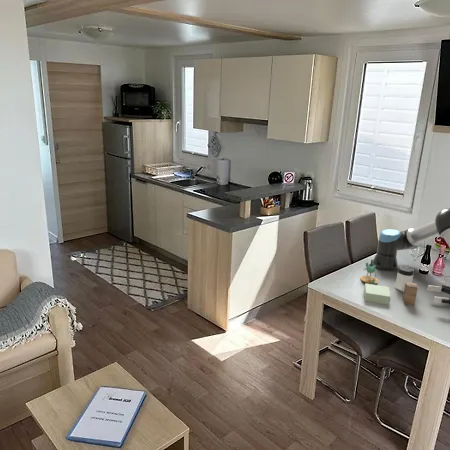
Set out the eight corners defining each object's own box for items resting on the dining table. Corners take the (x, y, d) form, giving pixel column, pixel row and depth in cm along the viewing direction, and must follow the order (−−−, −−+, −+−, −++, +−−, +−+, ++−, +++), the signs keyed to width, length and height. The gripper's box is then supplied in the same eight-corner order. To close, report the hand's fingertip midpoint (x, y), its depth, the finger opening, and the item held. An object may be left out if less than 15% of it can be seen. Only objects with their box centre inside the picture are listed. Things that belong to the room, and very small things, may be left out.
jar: (407, 285, 236) (411, 266, 232) (413, 291, 228) (417, 271, 224) (392, 284, 236) (395, 265, 232) (397, 291, 228) (401, 271, 224)
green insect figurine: (360, 287, 232) (363, 261, 229) (359, 277, 248) (362, 254, 246) (378, 289, 229) (381, 264, 226) (376, 280, 246) (379, 256, 243)
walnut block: (402, 299, 219) (405, 282, 216) (412, 300, 218) (415, 283, 215) (403, 303, 214) (407, 286, 211) (414, 305, 213) (417, 287, 210)
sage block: (363, 291, 226) (365, 283, 225) (387, 295, 223) (388, 286, 222) (364, 301, 215) (366, 292, 214) (389, 305, 212) (390, 296, 211)
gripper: (483, 317, 197) (435, 311, 201) (467, 295, 220) (424, 289, 224) (487, 303, 195) (438, 297, 199) (470, 282, 218) (426, 276, 222)
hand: (430, 293), depth 212 cm, fingers open, 13 cm apart
